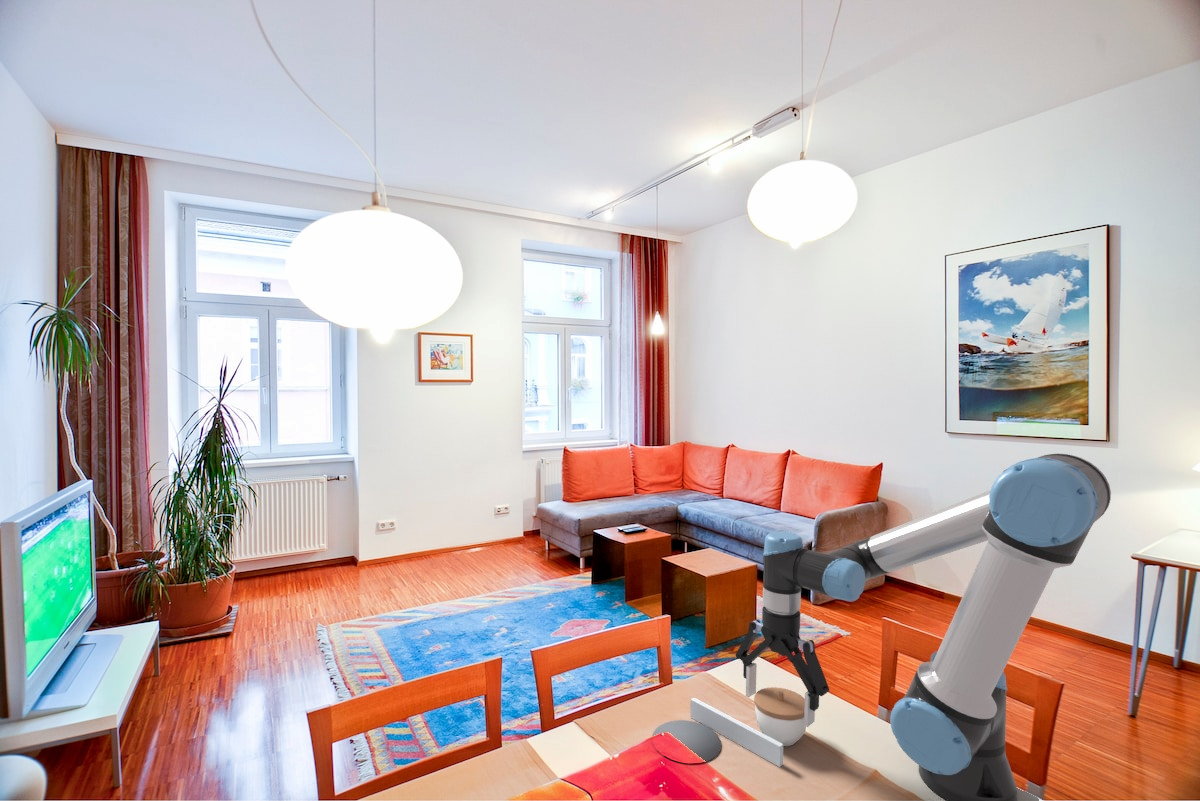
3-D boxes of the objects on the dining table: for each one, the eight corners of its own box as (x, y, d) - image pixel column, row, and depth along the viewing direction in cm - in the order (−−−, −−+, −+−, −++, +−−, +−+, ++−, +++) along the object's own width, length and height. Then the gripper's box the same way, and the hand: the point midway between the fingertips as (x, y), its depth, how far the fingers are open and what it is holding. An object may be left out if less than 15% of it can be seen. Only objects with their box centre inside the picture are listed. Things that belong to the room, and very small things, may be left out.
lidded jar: (800, 723, 123) (801, 680, 123) (814, 755, 112) (814, 708, 112) (750, 720, 124) (750, 678, 124) (758, 752, 113) (759, 705, 113)
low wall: (783, 764, 110) (783, 744, 110) (779, 767, 109) (779, 746, 109) (693, 715, 126) (694, 697, 126) (690, 717, 125) (690, 699, 125)
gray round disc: (734, 743, 116) (734, 742, 116) (690, 774, 107) (690, 772, 107) (682, 714, 127) (682, 712, 127) (637, 739, 117) (637, 738, 117)
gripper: (849, 623, 111) (845, 729, 112) (741, 586, 130) (739, 678, 130) (830, 634, 106) (827, 745, 107) (721, 594, 125) (719, 689, 125)
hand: (778, 708), depth 118 cm, fingers open, 13 cm apart
